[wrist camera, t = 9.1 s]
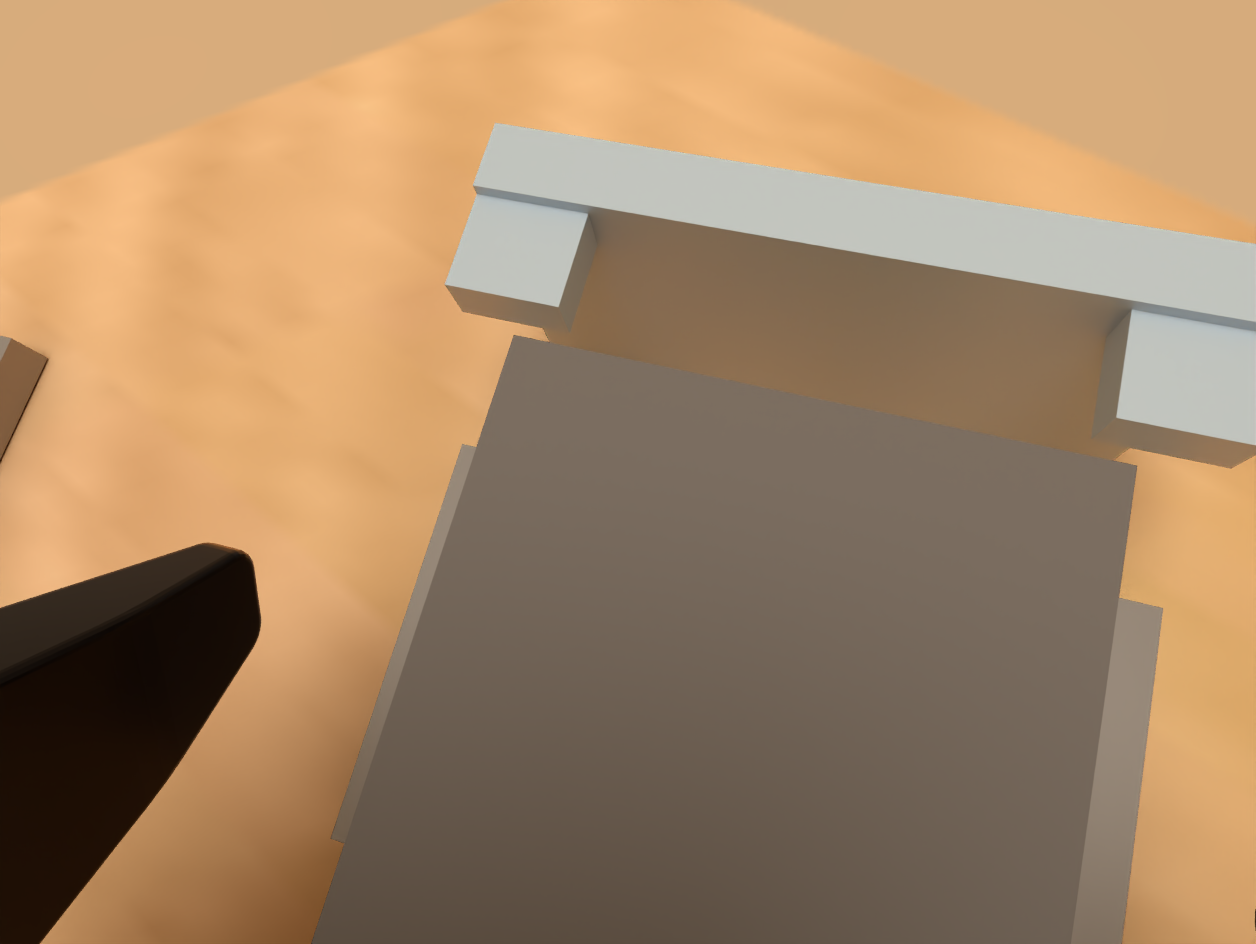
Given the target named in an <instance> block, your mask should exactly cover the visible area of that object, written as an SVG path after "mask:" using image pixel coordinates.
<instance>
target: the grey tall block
mask: <svg viewBox="0 0 1256 944" xmlns="http://www.w3.org/2000/svg"><path fill="white" fill-rule="evenodd" d="M1136 471H1137V466H1136V465H1131V464H1127V463H1122V462H1117V461H1112V460H1108V459H1103V458H1098V457H1093V456H1088V455H1084V454H1079V453H1074V452H1069V451H1065V450H1060V449H1055V448H1050V447H1046V446H1041V445H1036V444H1031V443H1026V442H1022V441H1017V440H1012V439H1007V438H1003V437H998V436H993V435H988V434H984V433H979V432H974V431H969V430H964V429H960V428H955V427H950V426H945V425H941V424H936V423H931V422H926V421H922V420H917V419H912V418H907V417H902V416H898V415H893V414H888V413H883V412H879V411H874V410H869V409H864V408H860V407H855V406H850V405H845V404H840V403H836V402H831V401H826V400H821V399H817V398H812V397H807V396H802V395H798V394H793V393H788V392H783V391H778V390H774V389H769V388H764V387H759V386H755V385H750V384H745V383H740V382H736V381H731V380H726V379H721V378H716V377H712V376H707V375H702V374H697V373H693V372H688V371H683V370H678V369H674V368H669V367H664V366H659V365H654V364H650V363H645V362H640V361H635V360H631V359H626V358H621V357H616V356H612V355H607V354H602V353H597V352H593V351H588V350H583V349H578V348H573V347H569V346H564V345H559V344H554V343H550V342H545V341H540V340H535V339H531V338H526V337H521V336H516V335H514V336H513V339H512V342H511V345H510V348H509V351H508V354H507V357H506V360H505V363H504V366H503V369H502V372H501V375H500V378H499V381H498V384H497V387H496V390H495V393H494V396H493V399H492V402H491V405H490V408H489V411H488V414H487V417H486V420H485V423H484V426H483V429H482V432H481V435H480V438H479V441H478V444H477V447H476V450H475V453H474V456H473V459H472V462H471V465H470V468H469V471H468V474H467V477H466V480H465V483H464V486H463V489H462V492H461V495H460V498H459V501H458V504H457V507H456V510H455V513H454V516H453V519H452V522H451V525H450V528H449V531H448V534H447V537H446V540H445V543H444V546H443V549H442V552H441V555H440V558H439V561H438V564H437V567H436V570H435V573H434V576H433V579H432V582H431V585H430V588H429V591H428V594H427V597H426V600H425V603H424V606H423V609H422V612H421V615H420V618H419V621H418V624H417V627H416V630H415V633H414V636H413V639H412V642H411V645H410V648H409V651H408V654H407V657H406V660H405V663H404V666H403V669H402V672H401V675H400V678H399V681H398V684H397V687H396V690H395V693H394V696H393V699H392V702H391V705H390V708H389V711H388V714H387V717H386V720H385V723H384V726H383V729H382V732H381V735H380V738H379V741H378V744H377V747H376V750H375V753H374V756H373V759H372V762H371V765H370V768H369V771H368V774H367V777H366V780H365V783H364V786H363V789H362V792H361V795H360V798H359V801H358V804H357V807H356V810H355V813H354V816H353V819H352V822H351V825H350V828H349V831H348V835H347V838H346V841H345V844H344V847H343V850H342V853H341V856H340V859H339V862H338V865H337V868H336V871H335V874H334V877H333V880H332V883H331V886H330V889H329V892H328V895H327V898H326V901H325V904H324V907H323V910H322V913H321V916H320V919H319V922H318V925H317V928H316V931H315V934H314V937H313V940H312V943H311V944H1071V939H1072V932H1073V925H1074V918H1075V911H1076V903H1077V896H1078V889H1079V882H1080V874H1081V867H1082V860H1083V853H1084V846H1085V838H1086V831H1087V824H1088V817H1089V810H1090V802H1091V795H1092V788H1093V781H1094V774H1095V766H1096V759H1097V752H1098V745H1099V737H1100V730H1101V723H1102V716H1103V709H1104V701H1105V694H1106V687H1107V680H1108V673H1109V665H1110V658H1111V651H1112V644H1113V637H1114V629H1115V622H1116V615H1117V608H1118V600H1119V593H1120V586H1121V579H1122V572H1123V564H1124V557H1125V550H1126V543H1127V536H1128V528H1129V521H1130V514H1131V507H1132V500H1133V492H1134V485H1135V478H1136Z"/></svg>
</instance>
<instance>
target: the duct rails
mask: <svg viewBox="0 0 1256 944" xmlns="http://www.w3.org/2000/svg"><path fill="white" fill-rule="evenodd" d="M473 187H474V189H475V191H476V193H477V196H476V198H475V201H474V204H473V207H472V210H471V212H470V215H469V218H468V221H467V224H466V226H465V229H464V232H463V235H462V238H461V240H460V243H459V246H458V249H457V252H456V255H455V257H454V260H453V263H452V266H451V269H450V271H449V274H448V277H447V280H446V283H445V286H446V287H447V289H448V290H449V292H450V293H451V295H452V296H453V298H454V299H455V301H456V302H457V304H458V305H459V307H460V308H461V310H462V311H463V312H466V313H471V314H476V315H481V316H486V317H491V318H496V319H501V320H505V321H510V322H515V323H520V324H525V325H530V326H535V327H540V328H543V329H544V332H545V334H546V336H547V338H548V340H549V342H550V343H554V344H559V345H564V346H569V347H573V348H578V349H583V350H588V351H593V352H597V353H602V354H607V355H612V356H616V357H621V358H626V359H631V360H635V361H640V362H645V363H650V364H654V365H659V366H664V367H669V368H674V369H678V370H683V371H688V372H693V373H697V374H702V375H707V376H712V377H716V378H721V379H726V380H731V381H736V382H740V383H745V384H750V385H755V386H759V387H764V388H769V389H774V390H778V391H783V392H788V393H793V394H798V395H802V396H807V397H812V398H817V399H821V400H826V401H831V402H836V403H840V404H845V405H850V406H855V407H860V408H864V409H869V410H874V411H879V412H883V413H888V414H893V415H898V416H902V417H907V418H912V419H917V420H922V421H926V422H931V423H936V424H941V425H945V426H950V427H955V428H960V429H964V430H969V431H974V432H979V433H984V434H988V435H993V436H998V437H1003V438H1007V439H1012V440H1017V441H1022V442H1026V443H1031V444H1036V445H1041V446H1046V447H1050V448H1055V449H1060V450H1065V451H1069V452H1074V453H1079V454H1084V455H1088V456H1093V457H1098V458H1103V459H1108V460H1112V461H1113V460H1114V459H1116V458H1117V457H1118V456H1120V455H1121V454H1122V453H1124V452H1125V451H1126V450H1128V449H1129V448H1133V449H1138V450H1143V451H1148V452H1153V453H1158V454H1163V455H1168V456H1172V457H1177V458H1182V459H1187V460H1192V461H1197V462H1202V463H1207V464H1212V465H1217V466H1222V467H1226V468H1233V467H1235V466H1237V465H1238V464H1240V463H1242V462H1244V461H1246V460H1248V459H1249V458H1251V457H1253V456H1255V455H1256V244H1252V243H1246V242H1240V241H1234V240H1227V239H1221V238H1215V237H1208V236H1202V235H1196V234H1190V233H1183V232H1177V231H1171V230H1165V229H1158V228H1152V227H1146V226H1139V225H1133V224H1127V223H1121V222H1114V221H1108V220H1102V219H1095V218H1089V217H1083V216H1077V215H1070V214H1064V213H1058V212H1052V211H1045V210H1039V209H1033V208H1026V207H1020V206H1014V205H1008V204H1001V203H995V202H989V201H983V200H976V199H970V198H964V197H957V196H951V195H945V194H939V193H932V192H926V191H920V190H914V189H907V188H901V187H895V186H888V185H882V184H876V183H870V182H863V181H857V180H851V179H845V178H838V177H832V176H826V175H819V174H813V173H807V172H801V171H794V170H788V169H782V168H775V167H769V166H763V165H757V164H750V163H744V162H738V161H732V160H725V159H719V158H713V157H706V156H700V155H694V154H688V153H681V152H675V151H669V150H663V149H656V148H650V147H644V146H637V145H631V144H625V143H619V142H612V141H606V140H600V139H594V138H587V137H581V136H575V135H568V134H562V133H556V132H550V131H543V130H537V129H531V128H525V127H518V126H512V125H506V124H499V123H495V125H494V128H493V130H492V133H491V136H490V139H489V142H488V144H487V147H486V150H485V153H484V156H483V158H482V161H481V164H480V167H479V170H478V172H477V175H476V178H475V181H474V184H473ZM46 360H47V358H46V357H44V356H43V355H41V354H39V353H37V352H35V351H33V350H32V349H30V348H28V347H26V346H24V345H22V344H21V343H19V342H17V341H15V340H13V339H12V338H7V337H3V336H0V459H1V457H2V455H3V452H4V450H5V448H6V446H7V444H8V442H9V440H10V437H11V435H12V433H13V431H14V429H15V427H16V425H17V423H18V420H19V418H20V416H21V414H22V412H23V410H24V408H25V405H26V403H27V401H28V399H29V397H30V395H31V393H32V390H33V388H34V386H35V384H36V382H37V380H38V378H39V375H40V373H41V371H42V369H43V367H44V365H45V363H46ZM475 450H476V447H473V446H468V445H464V444H462V447H461V450H460V453H459V456H458V459H457V462H456V465H455V468H454V471H453V474H452V477H451V480H450V483H449V486H448V489H447V492H446V495H445V498H444V501H443V504H442V507H441V510H440V513H439V516H438V519H437V522H436V525H435V528H434V531H433V534H432V537H431V540H430V543H429V546H428V549H427V552H426V555H425V558H424V561H423V564H422V567H421V570H420V573H419V576H418V579H417V582H416V585H415V588H414V590H413V593H412V596H411V599H410V602H409V605H408V608H407V611H406V614H405V617H404V620H403V623H402V626H401V629H400V632H399V635H398V638H397V641H396V644H395V647H394V650H393V653H392V656H391V659H390V662H389V665H388V668H387V671H386V674H385V677H384V680H383V683H382V686H381V689H380V692H379V695H378V698H377V701H376V704H375V707H374V710H373V713H372V716H371V719H370V722H369V725H368V728H367V731H366V734H365V737H364V740H363V743H362V746H361V749H360V752H359V755H358V758H357V761H356V764H355V767H354V770H353V773H352V776H351V779H350V782H349V785H348V788H347V791H346V794H345V797H344V800H343V803H342V806H341V809H340V812H339V815H338V818H337V821H336V824H335V827H334V830H333V833H332V836H331V839H333V840H336V841H339V842H342V843H345V841H346V838H347V835H348V831H349V828H350V825H351V822H352V819H353V816H354V813H355V810H356V807H357V804H358V801H359V798H360V795H361V792H362V789H363V786H364V783H365V780H366V777H367V774H368V771H369V768H370V765H371V762H372V759H373V756H374V753H375V750H376V747H377V744H378V741H379V738H380V735H381V732H382V729H383V726H384V723H385V720H386V717H387V714H388V711H389V708H390V705H391V702H392V699H393V696H394V693H395V690H396V687H397V684H398V681H399V678H400V675H401V672H402V669H403V666H404V663H405V660H406V657H407V654H408V651H409V648H410V645H411V642H412V639H413V636H414V633H415V630H416V627H417V624H418V621H419V618H420V615H421V612H422V609H423V606H424V603H425V600H426V597H427V594H428V591H429V588H430V585H431V582H432V579H433V576H434V573H435V570H436V567H437V564H438V561H439V558H440V555H441V552H442V549H443V546H444V543H445V540H446V537H447V534H448V531H449V528H450V525H451V522H452V519H453V516H454V513H455V510H456V507H457V504H458V501H459V498H460V495H461V492H462V489H463V486H464V483H465V480H466V477H467V474H468V471H469V468H470V465H471V462H472V459H473V456H474V453H475ZM1162 613H1163V608H1160V607H1156V606H1152V605H1147V604H1143V603H1139V602H1134V601H1130V600H1126V599H1122V598H1119V600H1118V608H1117V615H1116V622H1115V629H1114V637H1113V644H1112V651H1111V658H1110V665H1109V673H1108V680H1107V687H1106V694H1105V701H1104V709H1103V716H1102V723H1101V730H1100V737H1099V745H1098V752H1097V759H1096V766H1095V774H1094V781H1093V788H1092V795H1091V802H1090V810H1089V817H1088V824H1087V831H1086V838H1085V846H1084V853H1083V860H1082V867H1081V874H1080V882H1079V889H1078V896H1077V903H1076V911H1075V918H1074V925H1073V932H1072V939H1071V944H1122V938H1123V929H1124V921H1125V913H1126V905H1127V897H1128V889H1129V881H1130V873H1131V864H1132V856H1133V848H1134V840H1135V832H1136V824H1137V816H1138V808H1139V799H1140V791H1141V783H1142V775H1143V767H1144V759H1145V751H1146V743H1147V734H1148V726H1149V718H1150V710H1151V702H1152V694H1153V686H1154V678H1155V669H1156V661H1157V653H1158V645H1159V637H1160V629H1161V621H1162Z"/></svg>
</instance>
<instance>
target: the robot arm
mask: <svg viewBox="0 0 1256 944" xmlns="http://www.w3.org/2000/svg"><path fill="white" fill-rule="evenodd" d="M260 627H261V614H260V607H259V600H258V592H257V585H256V578H255V570H254V565H253V561H252V560H251V558H250V556H249V555H248V554H247V553H245V552H244V551H242V550H238V549H235V548H231V547H227V546H223V545H219V544H215V543H201V544H198V545H195V546H192V547H188V548H185V549H182V550H179V551H176V552H173V553H170V554H167V555H164V556H160V557H157V558H154V559H151V560H148V561H145V562H142V563H139V564H135V565H132V566H129V567H126V568H123V569H120V570H117V571H114V572H111V573H107V574H104V575H101V576H98V577H95V578H92V579H89V580H86V581H83V582H79V583H76V584H73V585H70V586H67V587H64V588H61V589H58V590H55V591H51V592H48V593H45V594H42V595H39V596H36V597H33V598H30V599H27V600H23V601H20V602H17V603H14V604H11V605H8V606H5V607H2V608H0V944H40V943H41V941H42V940H43V939H44V938H45V936H46V935H47V934H48V933H49V931H50V930H51V929H52V927H53V926H54V925H55V924H56V922H57V921H58V920H59V919H60V917H61V916H62V915H63V914H64V912H65V911H66V910H67V908H68V907H69V906H70V905H71V903H72V902H73V901H74V900H75V898H76V897H77V896H78V894H79V893H80V892H81V891H82V889H83V888H84V887H85V886H86V884H87V883H88V882H89V880H90V879H91V878H92V877H93V875H94V874H95V873H96V872H97V870H98V869H99V868H100V867H101V865H102V864H103V863H104V861H105V860H106V859H107V858H108V856H109V855H110V854H111V853H112V851H113V850H114V849H115V847H116V846H117V845H118V844H119V842H120V841H121V840H122V839H123V837H124V836H125V835H126V834H127V832H128V831H129V830H130V828H131V827H132V826H133V825H134V823H135V822H136V821H137V820H138V818H139V817H140V816H141V814H142V813H143V812H144V811H145V809H146V808H147V807H148V806H149V804H150V803H151V802H152V800H153V799H154V798H155V796H156V795H157V794H158V792H159V791H160V790H161V788H162V787H163V786H164V784H165V783H166V782H167V780H168V779H169V777H170V776H171V774H172V773H173V771H174V770H175V768H176V767H177V766H178V764H179V763H180V761H181V760H182V758H183V757H184V755H185V754H186V752H187V750H188V749H189V747H190V746H191V744H192V743H193V741H194V739H195V738H196V736H197V735H198V733H199V732H200V730H201V729H202V727H203V725H204V724H205V722H206V721H207V719H208V718H209V716H210V714H211V713H212V711H213V710H214V708H215V707H216V705H217V704H218V702H219V700H220V699H221V697H222V696H223V694H224V693H225V691H226V689H227V688H228V686H229V685H230V683H231V682H232V680H233V679H234V677H235V675H236V674H237V672H238V671H239V669H240V668H241V666H242V664H243V663H244V661H245V660H246V658H247V657H248V655H249V654H250V652H251V650H252V649H253V647H254V645H255V643H256V641H257V639H258V636H259V632H260ZM1255 929H1256V911H1255Z"/></svg>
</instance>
